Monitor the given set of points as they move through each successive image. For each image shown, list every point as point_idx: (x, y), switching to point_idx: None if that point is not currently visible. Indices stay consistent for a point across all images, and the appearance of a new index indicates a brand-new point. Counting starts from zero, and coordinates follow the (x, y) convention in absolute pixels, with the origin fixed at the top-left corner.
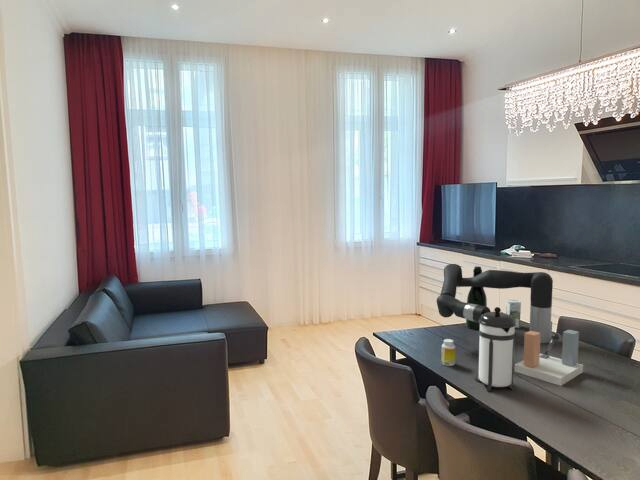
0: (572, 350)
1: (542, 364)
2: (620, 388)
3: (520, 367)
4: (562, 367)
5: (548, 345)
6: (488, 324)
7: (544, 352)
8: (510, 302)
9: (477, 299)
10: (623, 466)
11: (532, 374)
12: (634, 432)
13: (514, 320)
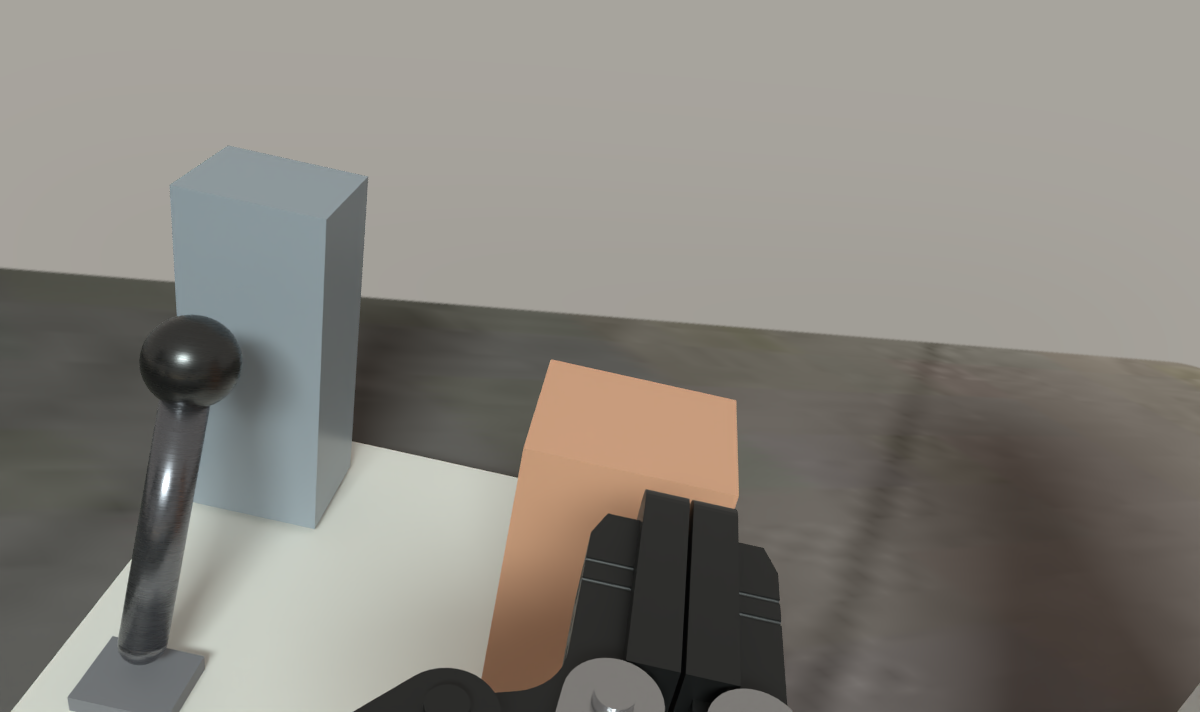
0: (355, 339)
1: (440, 667)
2: (446, 338)
3: None
4: (414, 523)
5: (173, 522)
6: None
7: (158, 639)
8: None
9: None
10: (1191, 378)
11: None
12: (919, 341)
13: (692, 505)
